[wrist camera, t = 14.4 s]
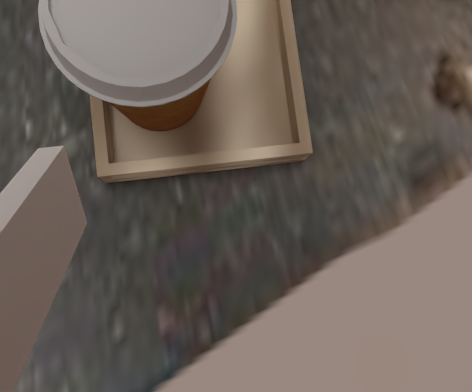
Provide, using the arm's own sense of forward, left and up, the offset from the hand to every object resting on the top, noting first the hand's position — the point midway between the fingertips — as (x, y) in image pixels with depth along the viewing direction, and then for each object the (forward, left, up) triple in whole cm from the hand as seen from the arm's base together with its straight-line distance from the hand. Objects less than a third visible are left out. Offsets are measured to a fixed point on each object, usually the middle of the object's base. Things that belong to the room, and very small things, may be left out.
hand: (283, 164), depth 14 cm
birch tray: (+2, -10, -19) cm, 22 cm away
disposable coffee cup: (+4, -9, -18) cm, 21 cm away
